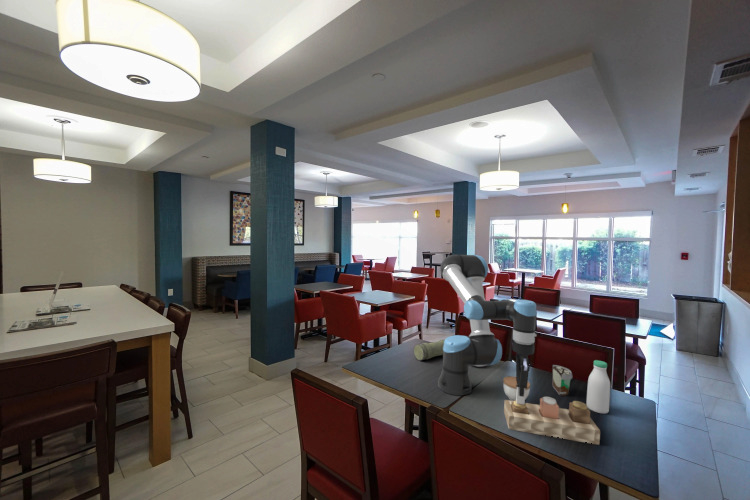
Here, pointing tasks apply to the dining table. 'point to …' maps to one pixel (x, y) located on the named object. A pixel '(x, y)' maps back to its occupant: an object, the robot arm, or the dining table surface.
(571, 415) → the right button
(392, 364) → the dining table surface
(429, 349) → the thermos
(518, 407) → the left button
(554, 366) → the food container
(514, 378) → the lidded jar
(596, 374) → the milk bottle
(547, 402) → the middle button
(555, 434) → the button mount
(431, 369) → the dining table surface
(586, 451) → the dining table surface
